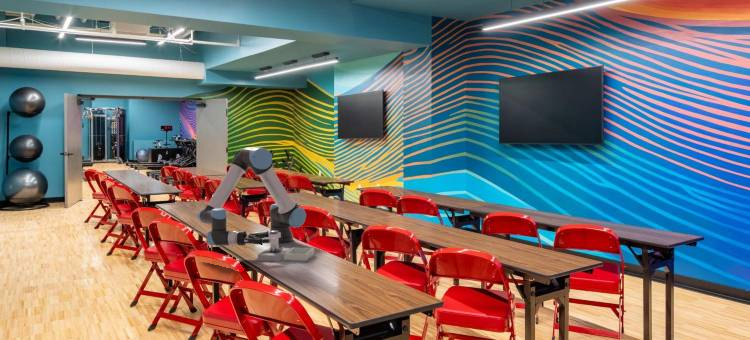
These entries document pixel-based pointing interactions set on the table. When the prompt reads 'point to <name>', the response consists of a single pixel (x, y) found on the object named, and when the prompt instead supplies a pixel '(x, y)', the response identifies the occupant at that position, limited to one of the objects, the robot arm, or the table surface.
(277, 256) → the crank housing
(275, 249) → the shiny metal cylinder
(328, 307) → the table surface
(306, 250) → the parts tray
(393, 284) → the table surface
